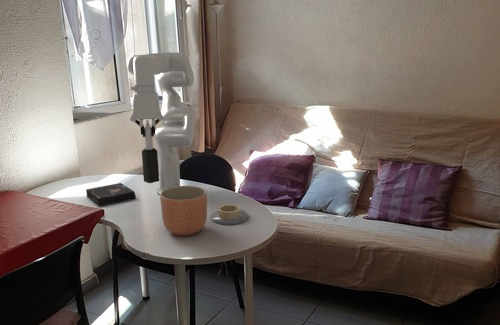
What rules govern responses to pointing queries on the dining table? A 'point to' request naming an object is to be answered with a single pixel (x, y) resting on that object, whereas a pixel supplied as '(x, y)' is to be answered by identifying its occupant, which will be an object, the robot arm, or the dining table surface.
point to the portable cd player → (110, 194)
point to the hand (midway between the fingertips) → (148, 135)
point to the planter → (184, 209)
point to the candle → (149, 158)
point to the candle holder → (229, 215)
